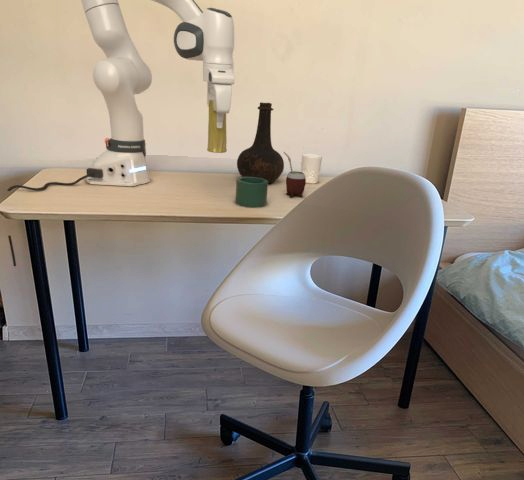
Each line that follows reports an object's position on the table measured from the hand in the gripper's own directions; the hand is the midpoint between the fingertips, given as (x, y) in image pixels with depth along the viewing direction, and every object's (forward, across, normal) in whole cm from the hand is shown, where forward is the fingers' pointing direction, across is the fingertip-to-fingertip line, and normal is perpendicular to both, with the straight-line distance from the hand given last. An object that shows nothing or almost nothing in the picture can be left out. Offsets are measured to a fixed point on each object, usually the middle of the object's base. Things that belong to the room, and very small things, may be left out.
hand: (217, 126), depth 155 cm
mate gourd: (+24, -10, +30) cm, 39 cm away
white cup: (+23, -33, +44) cm, 59 cm away
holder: (+23, 0, +12) cm, 26 cm away
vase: (+7, 0, 0) cm, 7 cm away
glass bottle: (+23, -32, +22) cm, 45 cm away
